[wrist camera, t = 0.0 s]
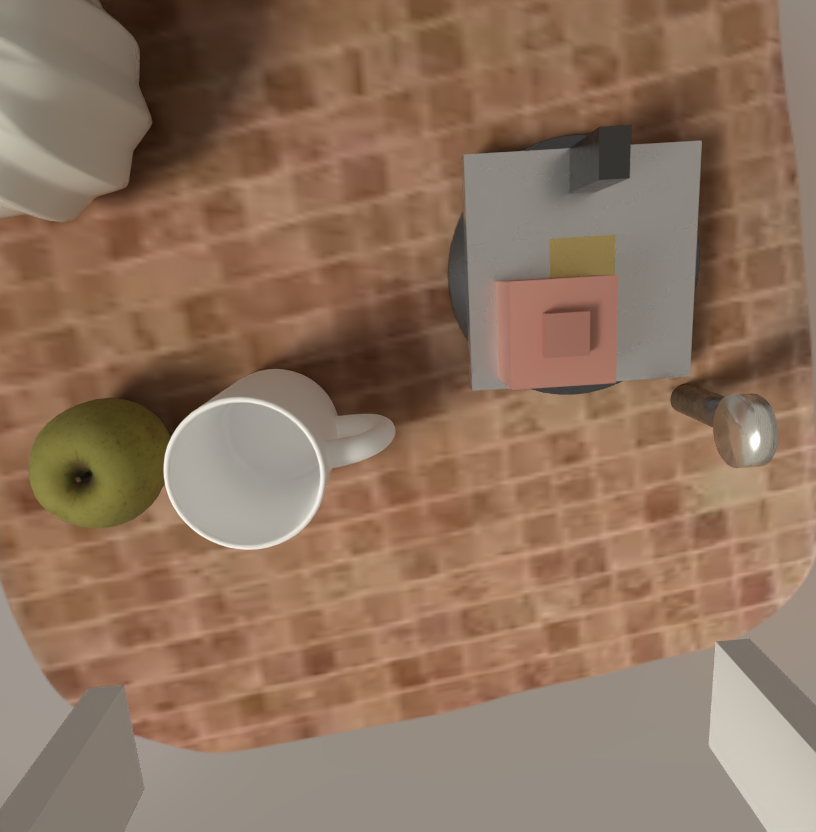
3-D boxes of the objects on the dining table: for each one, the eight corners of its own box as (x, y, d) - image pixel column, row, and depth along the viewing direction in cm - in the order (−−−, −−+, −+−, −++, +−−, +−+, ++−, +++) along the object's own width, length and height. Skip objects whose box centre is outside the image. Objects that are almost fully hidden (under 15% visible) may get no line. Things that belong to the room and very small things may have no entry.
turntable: (461, 158, 35) (476, 134, 29) (691, 145, 36) (753, 117, 30) (469, 387, 39) (484, 407, 33) (680, 373, 39) (734, 391, 33)
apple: (53, 457, 40) (-17, 495, 33) (113, 364, 39) (53, 382, 32) (150, 518, 41) (102, 567, 35) (211, 429, 40) (174, 461, 33)
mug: (386, 352, 39) (386, 377, 29) (402, 469, 41) (406, 530, 31) (208, 374, 39) (146, 407, 29) (231, 490, 41) (181, 559, 31)
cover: (496, 281, 36) (512, 281, 31) (593, 275, 36) (624, 274, 31) (498, 378, 37) (514, 392, 33) (592, 372, 37) (621, 385, 33)
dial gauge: (663, 371, 40) (758, 403, 30) (700, 368, 40) (808, 400, 30) (660, 427, 41) (752, 478, 31) (697, 425, 41) (801, 474, 31)
